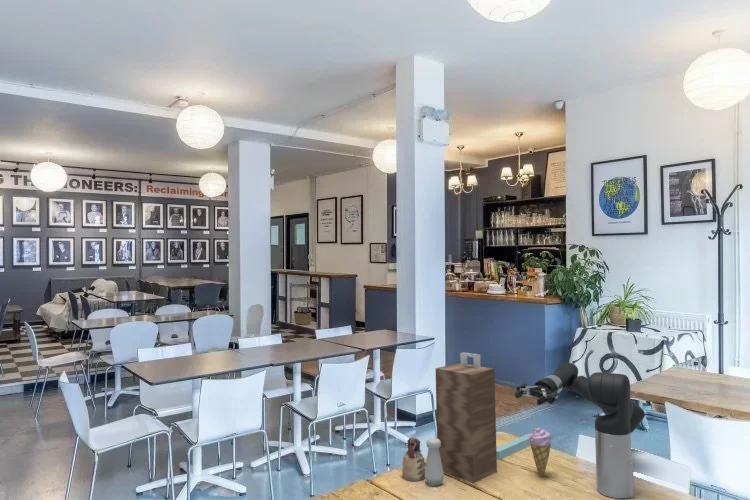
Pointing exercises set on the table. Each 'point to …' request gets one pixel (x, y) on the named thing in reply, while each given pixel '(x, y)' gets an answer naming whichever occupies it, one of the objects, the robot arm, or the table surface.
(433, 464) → the salt shaker
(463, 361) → the arch
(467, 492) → the table surface
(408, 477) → the figurine
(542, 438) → the ice cream cone
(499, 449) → the peg
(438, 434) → the plinth
